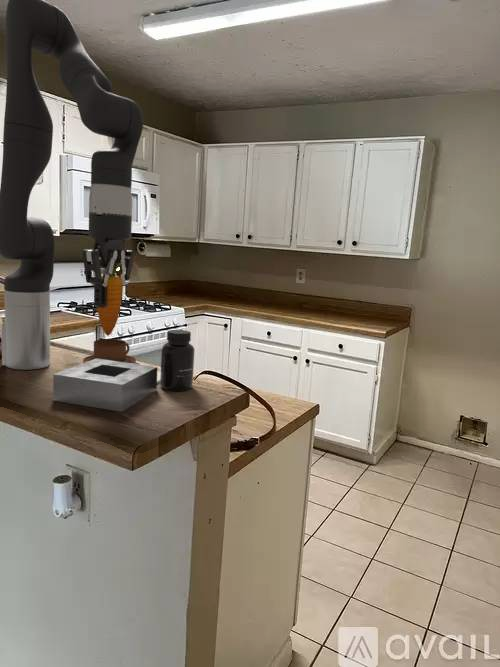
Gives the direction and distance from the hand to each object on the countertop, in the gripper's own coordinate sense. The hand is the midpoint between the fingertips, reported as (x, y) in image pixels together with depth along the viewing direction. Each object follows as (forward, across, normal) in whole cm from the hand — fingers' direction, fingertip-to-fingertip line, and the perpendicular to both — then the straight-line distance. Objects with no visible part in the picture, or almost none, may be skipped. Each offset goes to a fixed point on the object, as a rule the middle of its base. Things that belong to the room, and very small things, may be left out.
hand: (108, 304), depth 91 cm
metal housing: (+18, 0, 0) cm, 18 cm away
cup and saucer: (+18, -19, -10) cm, 28 cm away
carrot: (+6, 0, 0) cm, 6 cm away
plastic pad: (+18, -15, +1) cm, 23 cm away
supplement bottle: (+18, -11, +10) cm, 23 cm away
